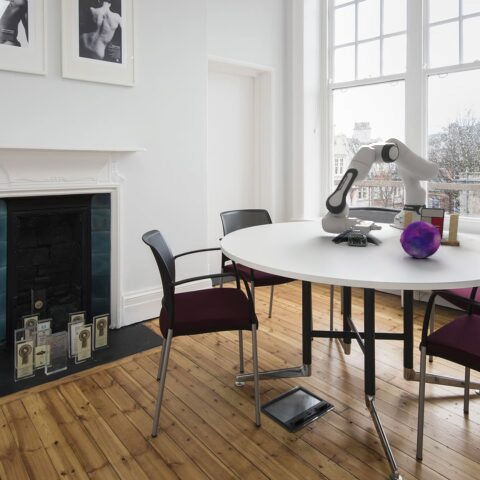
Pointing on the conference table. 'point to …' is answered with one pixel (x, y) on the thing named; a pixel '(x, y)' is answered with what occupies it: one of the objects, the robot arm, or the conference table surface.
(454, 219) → the fixed leg
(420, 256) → the decorative orb
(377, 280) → the conference table surface
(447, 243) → the rail
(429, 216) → the red and grey box
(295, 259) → the conference table surface
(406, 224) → the sliding leg
